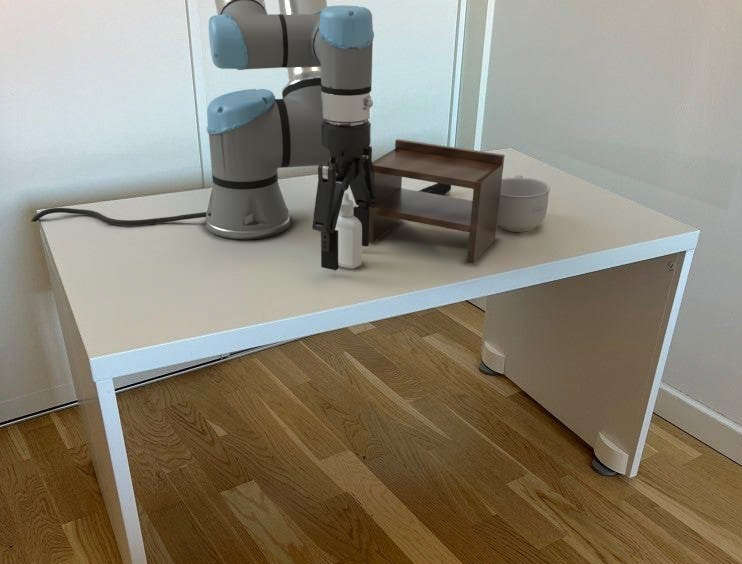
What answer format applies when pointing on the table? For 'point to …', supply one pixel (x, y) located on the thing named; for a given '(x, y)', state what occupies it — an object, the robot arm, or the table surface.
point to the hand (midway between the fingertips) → (345, 256)
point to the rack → (431, 208)
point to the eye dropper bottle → (349, 236)
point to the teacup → (522, 203)
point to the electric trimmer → (437, 189)
